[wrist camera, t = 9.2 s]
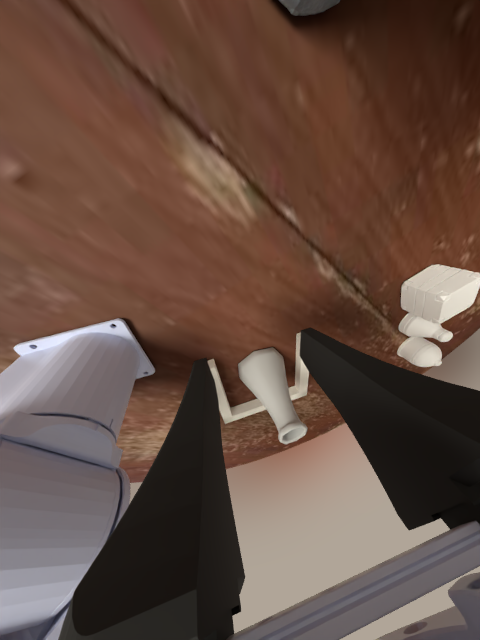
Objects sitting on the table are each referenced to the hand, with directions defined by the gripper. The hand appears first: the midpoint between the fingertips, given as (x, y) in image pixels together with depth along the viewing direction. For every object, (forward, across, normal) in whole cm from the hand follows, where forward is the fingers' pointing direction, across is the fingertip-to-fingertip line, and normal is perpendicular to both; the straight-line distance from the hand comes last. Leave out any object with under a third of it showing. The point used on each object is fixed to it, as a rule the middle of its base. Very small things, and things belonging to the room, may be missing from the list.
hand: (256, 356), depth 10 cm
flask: (+11, -3, +13) cm, 17 cm away
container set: (+11, -30, +14) cm, 35 cm away
